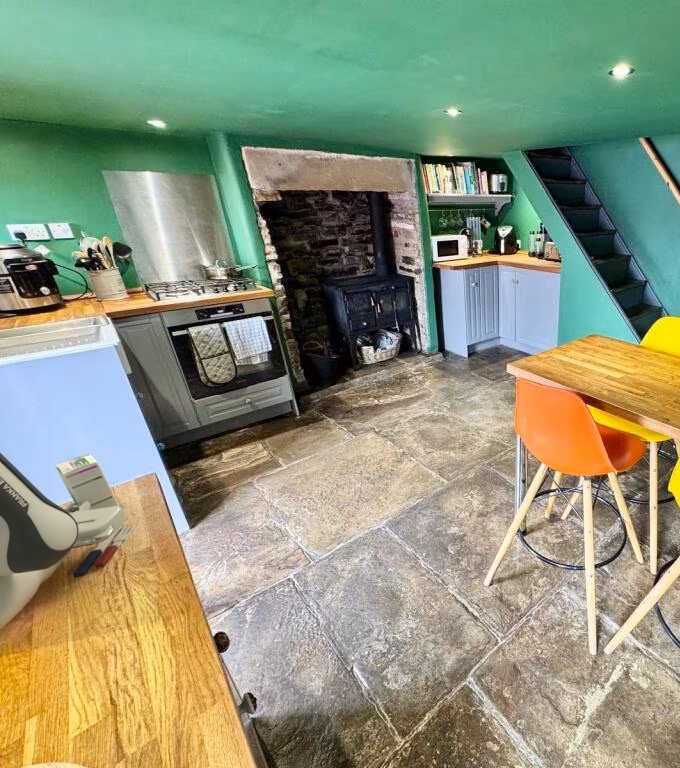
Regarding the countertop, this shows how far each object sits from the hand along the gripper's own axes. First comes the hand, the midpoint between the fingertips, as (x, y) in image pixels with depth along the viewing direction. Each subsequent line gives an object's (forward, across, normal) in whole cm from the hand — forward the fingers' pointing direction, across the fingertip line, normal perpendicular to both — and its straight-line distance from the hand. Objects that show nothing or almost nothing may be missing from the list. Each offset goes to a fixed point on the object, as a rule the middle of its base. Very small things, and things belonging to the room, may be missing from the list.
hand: (81, 504), depth 86 cm
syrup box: (+4, 0, +6) cm, 8 cm away
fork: (-8, -8, +6) cm, 13 cm away
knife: (-8, -5, +6) cm, 12 cm away
